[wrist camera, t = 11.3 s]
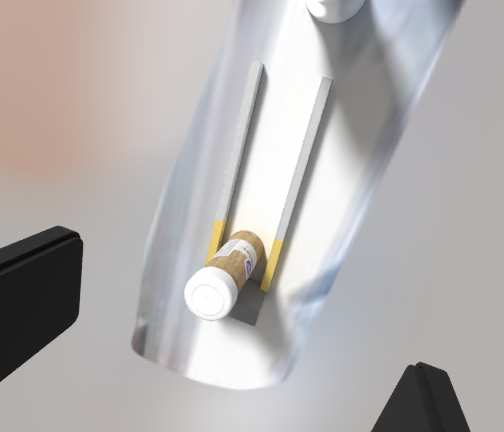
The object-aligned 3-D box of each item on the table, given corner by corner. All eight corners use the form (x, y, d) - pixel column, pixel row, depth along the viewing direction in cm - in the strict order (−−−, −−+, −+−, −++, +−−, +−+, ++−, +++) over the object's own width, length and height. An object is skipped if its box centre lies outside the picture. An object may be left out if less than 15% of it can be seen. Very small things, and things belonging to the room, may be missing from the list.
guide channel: (255, 62, 35) (239, 50, 30) (332, 80, 34) (331, 72, 28) (205, 277, 44) (186, 300, 38) (265, 299, 42) (255, 326, 37)
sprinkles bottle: (269, 258, 41) (239, 317, 28) (236, 267, 42) (194, 327, 30) (256, 224, 40) (220, 269, 28) (223, 234, 42) (174, 282, 29)
